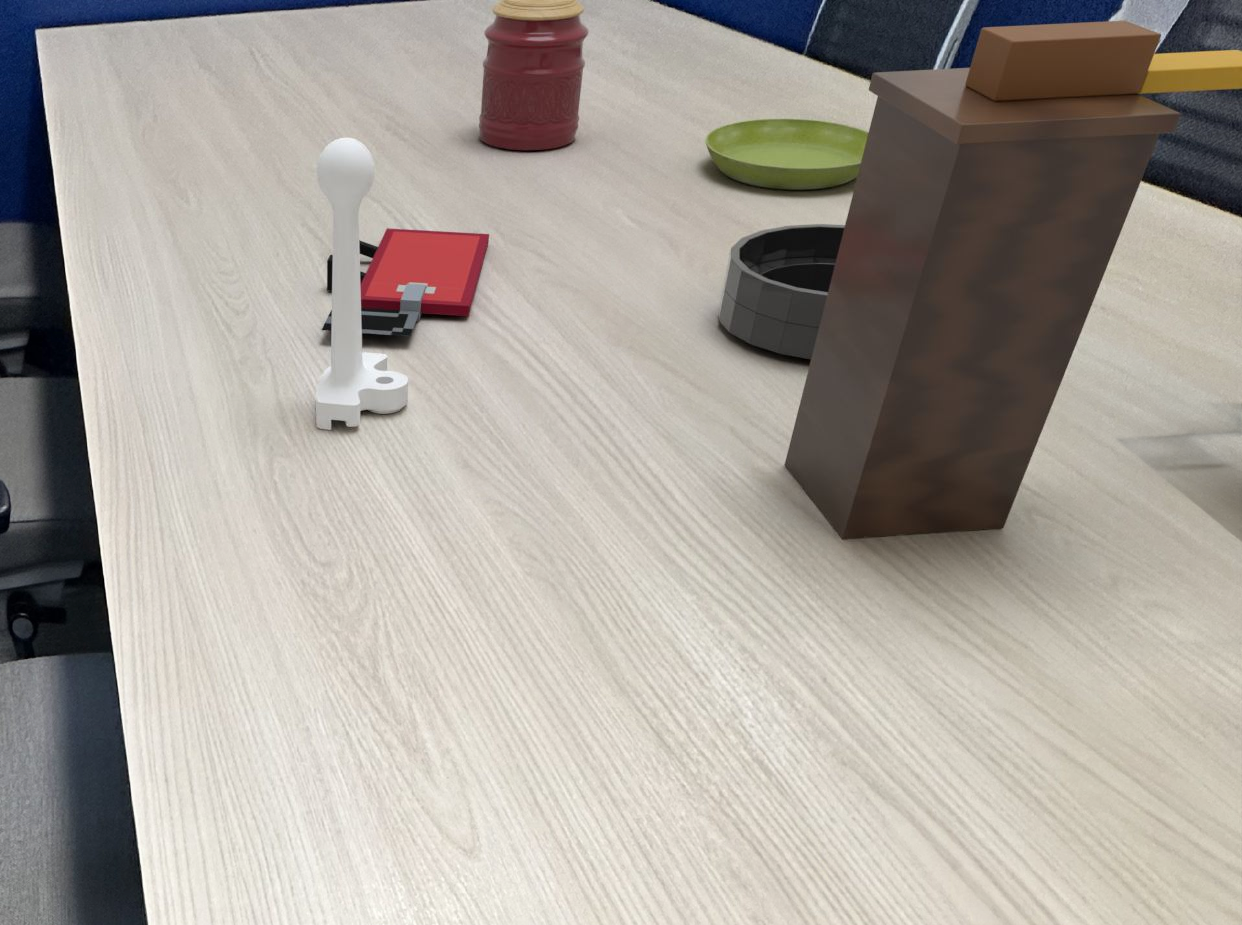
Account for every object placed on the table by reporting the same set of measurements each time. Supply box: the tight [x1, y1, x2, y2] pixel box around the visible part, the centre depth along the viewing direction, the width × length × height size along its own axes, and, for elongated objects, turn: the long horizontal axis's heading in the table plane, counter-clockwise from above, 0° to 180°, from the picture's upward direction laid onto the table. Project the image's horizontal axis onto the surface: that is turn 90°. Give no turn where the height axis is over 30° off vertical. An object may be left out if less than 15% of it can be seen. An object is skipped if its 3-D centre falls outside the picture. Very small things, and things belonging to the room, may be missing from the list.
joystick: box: [315, 137, 409, 431], centre depth 102 cm, size 11×8×20 cm
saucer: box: [705, 118, 869, 191], centre depth 152 cm, size 21×21×3 cm
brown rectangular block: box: [965, 20, 1242, 101], centre depth 76 cm, size 17×4×3 cm, turn 95°
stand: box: [784, 67, 1182, 540], centre depth 86 cm, size 13×13×26 cm
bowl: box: [718, 223, 845, 360], centre depth 117 cm, size 20×20×6 cm
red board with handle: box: [321, 227, 490, 337], centre depth 127 cm, size 30×3×15 cm
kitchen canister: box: [478, 0, 590, 151], centre depth 160 cm, size 13×13×18 cm
